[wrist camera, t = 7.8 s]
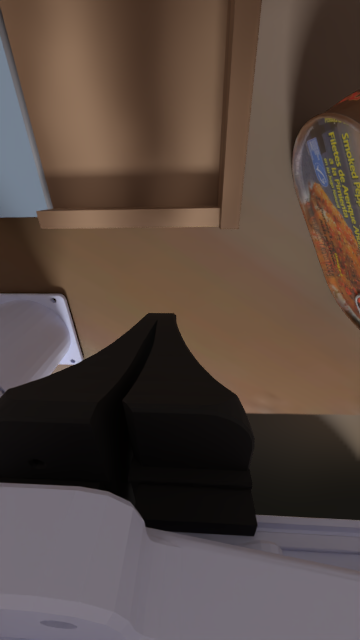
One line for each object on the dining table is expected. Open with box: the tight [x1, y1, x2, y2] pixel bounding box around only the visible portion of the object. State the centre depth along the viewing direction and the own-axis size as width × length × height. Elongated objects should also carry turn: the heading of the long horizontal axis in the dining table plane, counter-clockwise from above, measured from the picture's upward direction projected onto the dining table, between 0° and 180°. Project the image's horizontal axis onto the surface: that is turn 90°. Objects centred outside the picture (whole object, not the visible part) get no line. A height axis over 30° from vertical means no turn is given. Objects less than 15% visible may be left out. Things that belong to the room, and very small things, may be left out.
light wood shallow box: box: [0, 0, 262, 229], centre depth 12 cm, size 12×14×5 cm
